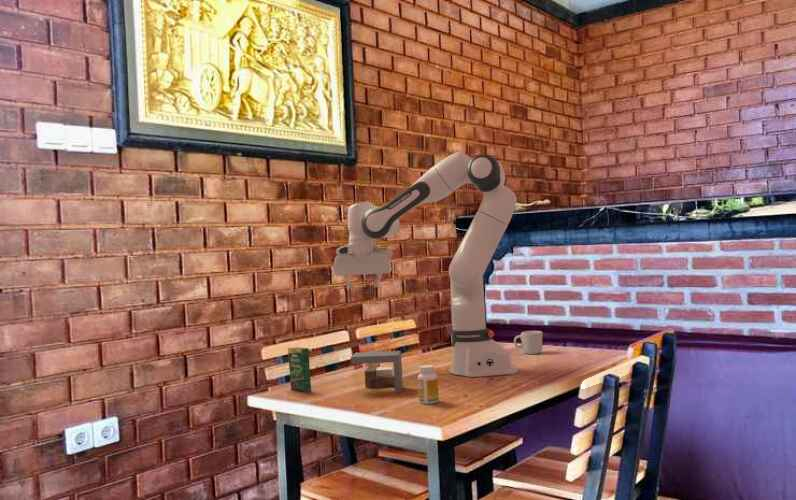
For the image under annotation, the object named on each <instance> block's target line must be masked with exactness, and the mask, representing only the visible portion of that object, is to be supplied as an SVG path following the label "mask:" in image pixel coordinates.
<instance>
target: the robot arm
mask: <svg viewBox="0 0 796 500" xmlns="http://www.w3.org/2000/svg"><path fill="white" fill-rule="evenodd" d="M507 178H508V177H507V172H506V171H505V169H504V167H503V165H502V164H501V163H500V162H499V161H498V159H496V158H495V157H494V156H493V155H490V154H488V153H480V154H476V155H475V156H473V157H472V158H470V156H469V155H467V154H466V153H464V152H462V151H456V152H454V153H452V154H450V155H449V156H446V157H445V158H443V159H442V160H440V161H438V162H437V163H435V164H434V165H433V166H432V167H431V168H429V169H428V170H427V171H426V172H425V173H423V174H422V175H421V176H420V177H419V178H418V179H417V180H416V181H415V182H414V183H413V184H411V186H409V187H408V188H406V189H405V190H404V191H403V192H401V193H399V194H398V195H397V196H395V197H394V198H392V199H391V200H389V202H387V203H386V204H384V205H382V206H376V205H374V204H373V203H371V202H369V201H361V202H356V203H353V204H351V205H350V206H349V208H348V210H347V229H348V233H349V236H348V244H346V245H343V246H340V247H338V248H337V249H336V250H335V251H336V256H335V258H334V264H333V274H334V275H335V276H336V277H339V276H344V280H345V282H346V283H347V288H348V289H353V288H354V286H353V285H354V283H353V282H351V281H350V280H349V279H350V276H361V275H376V276H377V280H376V281H374V288H380V281H381V280H382V278H383V274H390V273H391V272H392V262H391V259H392V250H391V249H390V248H388V247H386V246H382V247H375V241H374V239H375V240H376V239H381V238H390V237H393V236H394V235H396V234H397V232H398V231H399V229H400V226H401V225H400V224H401V223H400V222H401V221H400V218H402V217H403V216H404V215H406V214H407V213H408V212H410V211H411V210H413V209H414V208H416V207H419V206H420V205H424V204H429V203H430V204H431V203H437V202H438V201H441V200H443V199H445V198H446V197H448V196H450V195H451V194H453V193H454V192H455V191H456V190H457V189H459V188H460V187H461V186H463V185H466V184H471V185H472V186H473V187H474V188H476V189H477V190H478V191H479V192H481V193H482V196H483V197H482V201H481V203H480V205H479V207H478V210H477V212H476V213H475V215H474V217H473V219H472V221H471V223H470V225H469V227H468V229H467V231H466V233H465V235H464V237H463V239H462V240H461V243H460V244H459V247H458V249H457V251H456V252H455V254H454V256H453V258H452V260H451V262H450V263H449V266H448V275H449V280H450V283H449V285H450V309H451V310H450V311H451V326H452V328H451V330H450V331H451V332H450V338H451V340H450V341H451V342H450V343H451V346H452V357H451V366H450V370H449V373H450V374H453V375H456V376H464V377H469V378H473V377H475V378H476V377H478V378H479V377H489V376H490V377H491V376H503V375H505V376H506V375H515V374H518V372H520V369H519V366H518V365H517V364H514V363H512V357H511V355H510V352H509V351H508V350H507V349H506V347H504V346H502V345H500V344H499V343H498V342H497V341H495V340H494V339H493V338H494V336H495V331H493V330H491V329H489V328H487V325H486V324H487V323H486V308H485V307H486V306H485V293H484V292H485V289H484V277H483V276H484V274H485V272H486V271H487V268H488V266H489V264H490V262H491V260H492V257H493V255H494V254H495V252H496V250H497V247H498V246H499V245H500V241H501V239H502V237H503V235H504V234H505V232H506V230H507V228H508V225H509V224H510V222H511V219H512V217H513V214H514V212H515V210H516V209H515V208H516V205H517V200H518V199H517V198H518V197H517V195H516V193H515V192H514V191H513V190H512V189H511V188H509V187H507V186H506V184H507Z"/></svg>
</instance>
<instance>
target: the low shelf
mask: <svg viewBox="0 0 796 500" xmlns="http://www.w3.org/2000/svg"><path fill="white" fill-rule="evenodd" d="M370 363H380V364H384V363H385V364H387V363H393V375H394V381H395V387H394V394H401V392H402V390H403V388H404V385H403V382H404V381H403V367H402V364H403V363H402V351H401V350H388V351H366V352H365V351H363V352H354V353H353V354H352V356H351V357H350V364H352V365H357V364H360V365H361V364H370Z"/></svg>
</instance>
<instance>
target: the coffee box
mask: <svg viewBox="0 0 796 500" xmlns="http://www.w3.org/2000/svg"><path fill="white" fill-rule="evenodd" d="M287 351H288V352H287V353H288V354H287V355H288V367H289V379H290V380H289V381H290V390H294V391H298V392H304V393H306V392H311V391H312V386H311V371H310V370H311V369H310V366H311V365H310V355H309V354H310V352H309V351H310V350H309V348H308V347H298V346H292V347H288V348H287Z"/></svg>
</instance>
